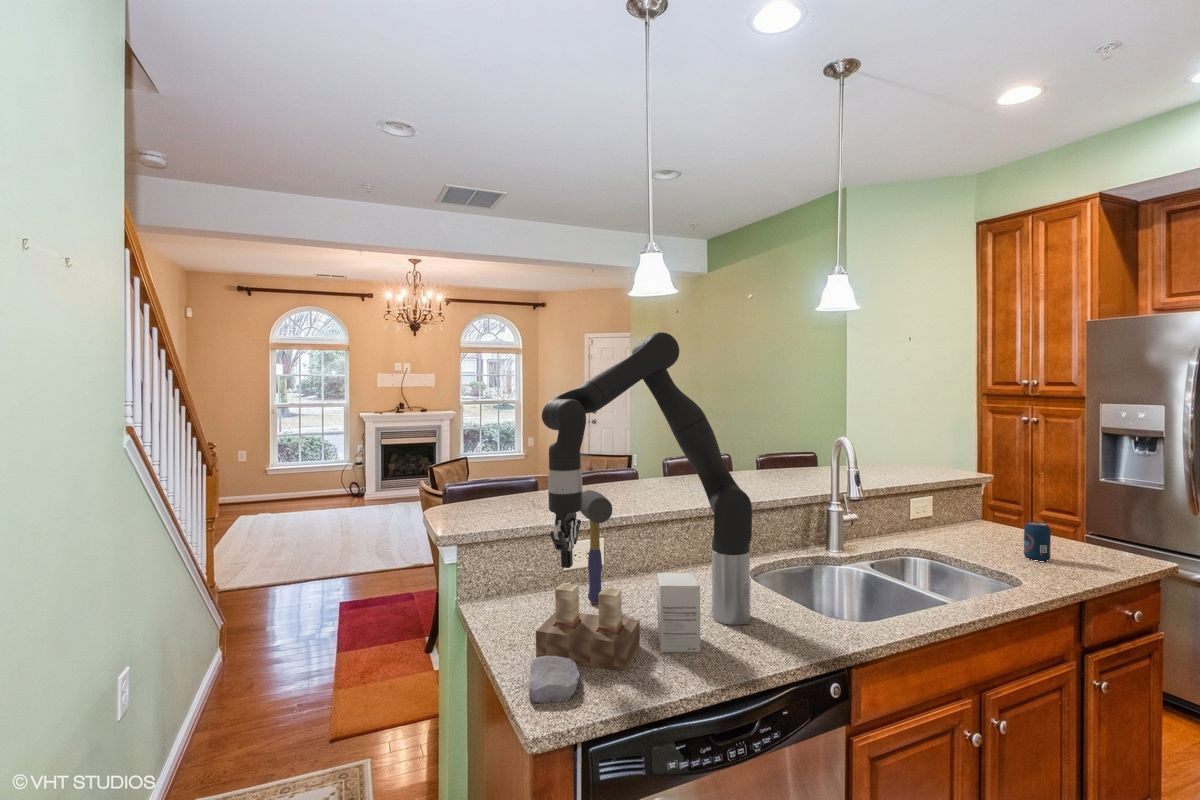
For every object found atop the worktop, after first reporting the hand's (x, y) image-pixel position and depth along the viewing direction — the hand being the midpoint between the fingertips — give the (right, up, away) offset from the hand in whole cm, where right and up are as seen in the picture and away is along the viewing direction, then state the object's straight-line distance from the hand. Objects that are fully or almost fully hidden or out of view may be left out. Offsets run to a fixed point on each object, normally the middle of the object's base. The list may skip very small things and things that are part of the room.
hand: (567, 566), depth 129 cm
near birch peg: (+10, -18, -2) cm, 20 cm away
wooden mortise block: (+5, -19, -1) cm, 19 cm away
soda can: (+151, -16, +62) cm, 164 cm away
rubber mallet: (+6, -18, +28) cm, 34 cm away
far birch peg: (0, -18, +1) cm, 18 cm away
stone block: (-1, -20, -15) cm, 25 cm away
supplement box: (+25, -19, +3) cm, 31 cm away
